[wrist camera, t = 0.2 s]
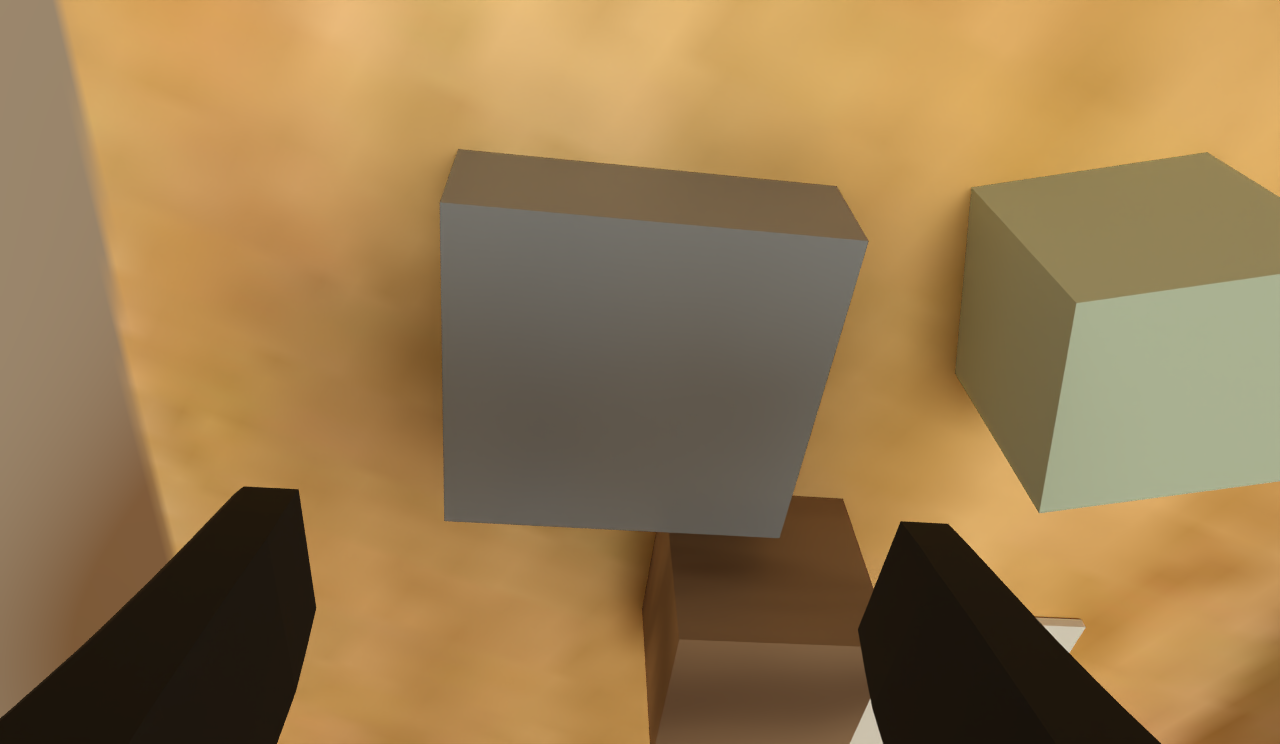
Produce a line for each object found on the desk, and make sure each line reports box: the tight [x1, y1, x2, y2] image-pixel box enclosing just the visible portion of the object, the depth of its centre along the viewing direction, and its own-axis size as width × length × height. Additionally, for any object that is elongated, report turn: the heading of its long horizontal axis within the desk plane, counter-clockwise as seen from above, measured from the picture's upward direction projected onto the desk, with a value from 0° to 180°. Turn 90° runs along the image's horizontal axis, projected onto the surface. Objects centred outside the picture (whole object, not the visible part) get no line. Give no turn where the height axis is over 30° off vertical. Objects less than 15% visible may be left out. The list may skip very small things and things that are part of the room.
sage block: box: [955, 152, 1280, 513], centre depth 18 cm, size 5×5×5 cm
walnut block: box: [642, 496, 874, 744], centre depth 23 cm, size 5×5×5 cm
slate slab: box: [440, 149, 869, 538], centre depth 19 cm, size 8×8×3 cm
